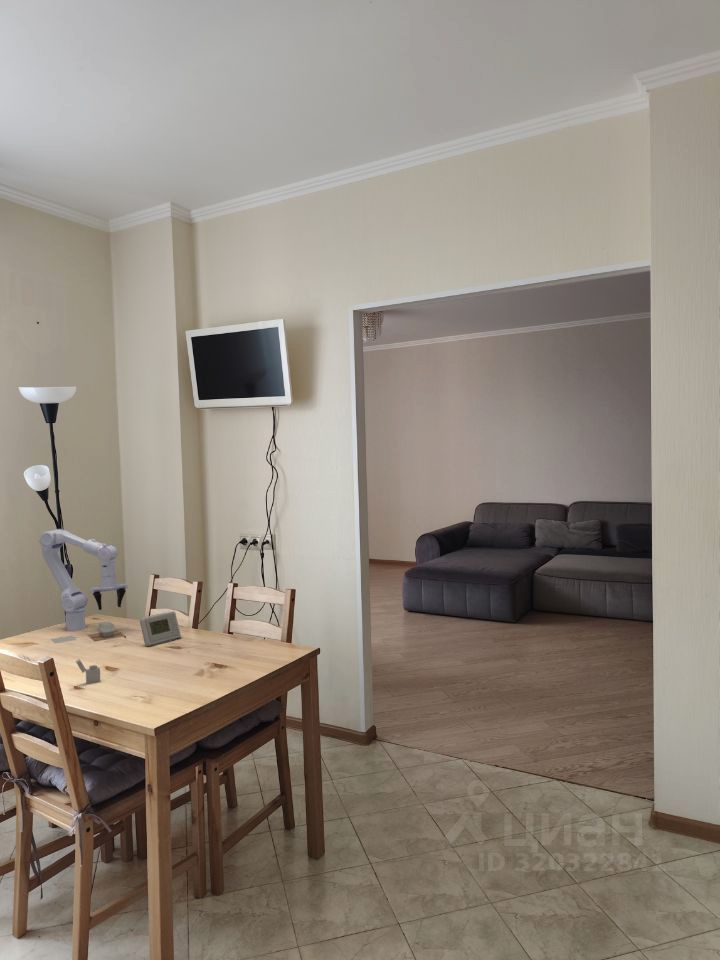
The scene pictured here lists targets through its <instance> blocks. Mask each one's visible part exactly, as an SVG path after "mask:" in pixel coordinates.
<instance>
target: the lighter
mask: <svg viewBox="0 0 720 960" xmlns="http://www.w3.org/2000/svg"><path fill="white" fill-rule="evenodd" d="M75 663H76V665H77V666H78V668H79V669H80V671H81V673H82V674H83V673H85V683H86V684H87V683H89V684H93V683H92V682H94V683H98V682H97V681H100V682H101V668H100V667H99V666H98V665H96V664H94V665H93V664H92V665H89V666H88V667H89V668H86V667H85V666H84V664H83V662H82V661H81V659H80V658H78V659H77V660H76V661H75Z"/></svg>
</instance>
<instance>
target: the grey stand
mask: <svg viewBox="0 0 720 960" xmlns="http://www.w3.org/2000/svg"><path fill="white" fill-rule="evenodd" d="M50 641H52V642H53V643H54V644H60V643H61V644H62V643H65V642H72V641H77V638H76V637H74V636H73V635H68V636H62V637H55V638H50Z"/></svg>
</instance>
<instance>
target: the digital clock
mask: <svg viewBox="0 0 720 960" xmlns="http://www.w3.org/2000/svg"><path fill="white" fill-rule="evenodd" d="M139 623H140V628H141V633H142V638H143V641H144V645H145V647H150V646H156V644H157V645H160V644H159V643H161V644H164V643H163V642H165V643H167V642H166V641H169V642H171V641H170V640H172V641H174V640H178V639H180V638H181V637H182V635H181V630H180V627H179V626H180V625H179V622H178V618H177V614H176V612H175V611H174V610H173V611H168V612H167V611H166V612H163V613H157V614H153V615H149V616H145V617H141V618H140V619H139ZM177 638H178V639H177Z"/></svg>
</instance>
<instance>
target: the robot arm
mask: <svg viewBox="0 0 720 960" xmlns="http://www.w3.org/2000/svg"><path fill="white" fill-rule="evenodd" d="M38 542H39V544H40V546H41V554H42V557H43V560H44V561H45V563H46V565H47V567H48V569H49V570H50V571H49V572H51V575H52V576H53V578H54V580H55V582H56V584H57V585H58V587H59V589H60V592H61V595H60V597H59V598H60V600H61V605H62V609H63V610H64V611H65V618H64V619H65V629H66V631H69V632H76V631H82V630H85V629H86V606H87V605H88V601H89V599H88V596H87V595H86V594H85V593H84V592H83V591H82V590H81V588H80V587H77V586H76V585H75V583H74V581H73V579H72V578H71V575H70V574H69V572H68V569H66V566H65V565H64V563H63V561H62V559H61V557H60V555H59V551H60V549H61V548H62V546H63V545H64V544H65V543H67V544H69V545H73V546H76V547H79V548H81V549H82V550H83V552H85V553H87V554H88V555H91V556H94V557H96V558H98V560H99V563H100V564H99V565H100V576H101V577H100V579H101V583H100V584H101V585H100V586H94V587H89V593H90V594H92V595H93V597H94V599H95V601H96V604H97V609H98V610H99V611H101V610H103V609H102V595H103V594H102V593H103V592H110V591H116V597H117V598H116V599H117V601H116V602H117V607H118V608H121V607H122V606H121V605H122V602H123V598H124V596H125V594H126V590H128V589H129V588H128V583H117V567H116V564H117V563H116V558H117V557H118V555H119V553H118V549H117V547H116V546H114V545H111V544H110V545H107V543H102V542H98V541H97V539H95V538H92V539H87V540H86V539H84V538H82V537H79V536H77V535H75V534H74V533H71V532H70V531H68V530H64V529H62V528H56V529H54V530H49V531H48V530H47V531H44V532H42V533H41V534H40V537H39V539H38ZM101 592H102V593H101Z"/></svg>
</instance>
